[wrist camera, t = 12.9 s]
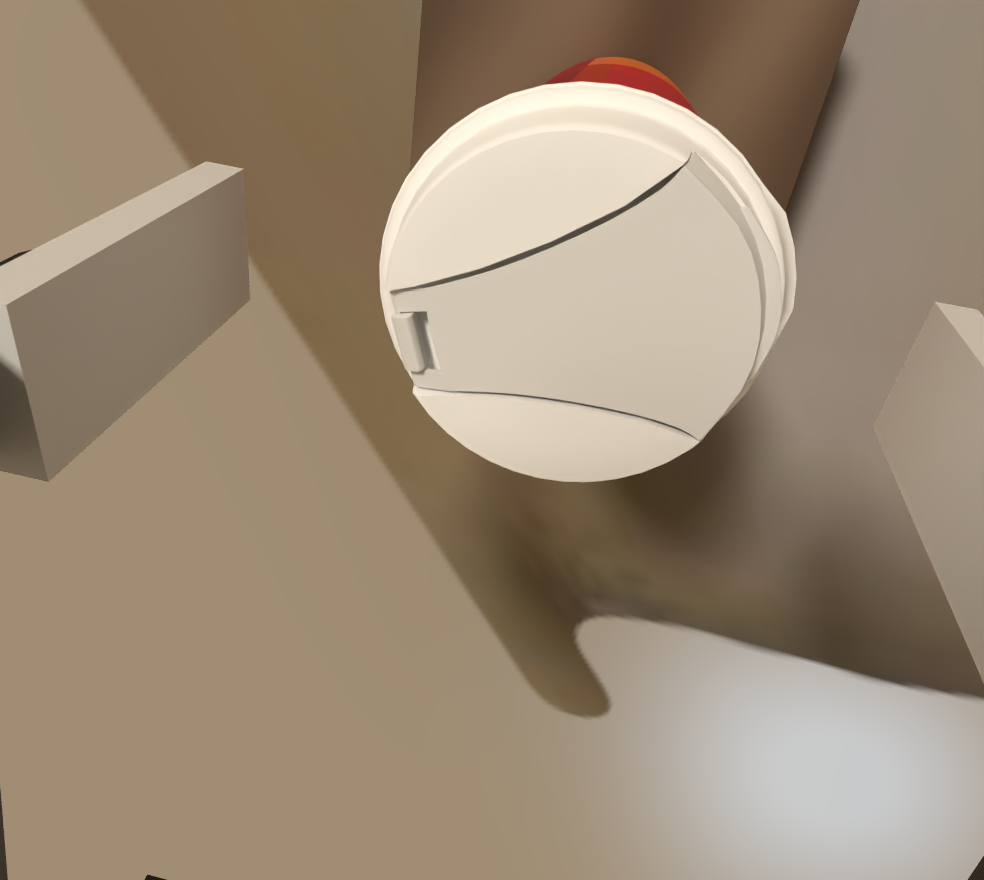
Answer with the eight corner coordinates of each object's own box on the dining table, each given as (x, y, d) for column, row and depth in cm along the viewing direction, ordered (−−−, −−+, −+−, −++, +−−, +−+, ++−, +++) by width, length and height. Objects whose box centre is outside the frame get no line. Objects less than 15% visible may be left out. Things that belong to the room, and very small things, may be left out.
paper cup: (512, 275, 28) (413, 511, 17) (471, 42, 24) (304, 138, 13) (737, 248, 26) (803, 494, 15) (731, -9, 22) (814, 50, 11)
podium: (845, -45, 25) (874, -42, 21) (725, 314, 32) (733, 358, 28) (459, -108, 26) (430, -114, 22) (427, 256, 33) (401, 291, 29)
